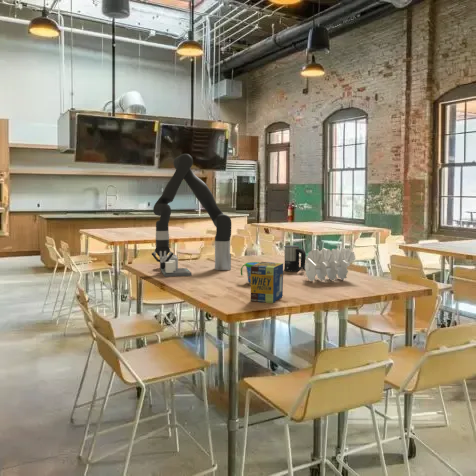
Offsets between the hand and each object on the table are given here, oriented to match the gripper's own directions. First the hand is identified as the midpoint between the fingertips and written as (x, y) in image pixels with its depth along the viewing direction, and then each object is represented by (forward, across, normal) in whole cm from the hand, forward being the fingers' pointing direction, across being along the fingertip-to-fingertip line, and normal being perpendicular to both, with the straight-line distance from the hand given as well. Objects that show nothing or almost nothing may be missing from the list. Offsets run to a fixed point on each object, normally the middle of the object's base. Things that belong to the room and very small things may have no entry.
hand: (162, 269), depth 300 cm
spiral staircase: (+3, -83, +40) cm, 92 cm away
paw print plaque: (+3, -6, -20) cm, 21 cm away
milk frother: (+3, -80, +2) cm, 80 cm away
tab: (+1, -3, +7) cm, 7 cm away
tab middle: (+1, -5, 0) cm, 5 cm away
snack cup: (+3, -44, +38) cm, 59 cm away
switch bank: (+3, -8, 0) cm, 8 cm away
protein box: (+3, -38, +78) cm, 87 cm away
